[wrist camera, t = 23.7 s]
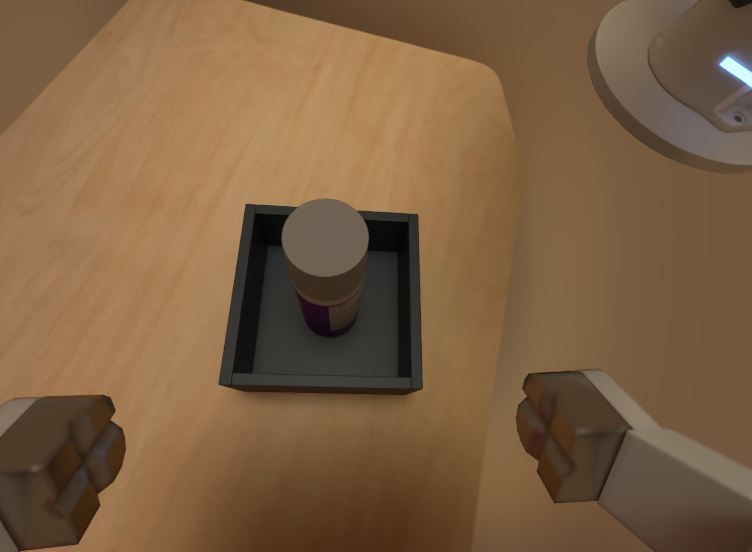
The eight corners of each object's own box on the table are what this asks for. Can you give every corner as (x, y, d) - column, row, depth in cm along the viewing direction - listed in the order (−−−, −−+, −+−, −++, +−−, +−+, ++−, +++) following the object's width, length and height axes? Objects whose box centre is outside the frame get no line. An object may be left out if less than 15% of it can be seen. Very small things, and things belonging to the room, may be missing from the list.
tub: (404, 249, 37) (418, 213, 31) (406, 394, 33) (422, 389, 26) (262, 241, 36) (245, 203, 30) (243, 391, 32) (218, 384, 25)
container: (293, 306, 33) (260, 226, 19) (336, 276, 35) (335, 181, 21) (324, 349, 32) (314, 297, 18) (368, 316, 34) (389, 245, 20)
